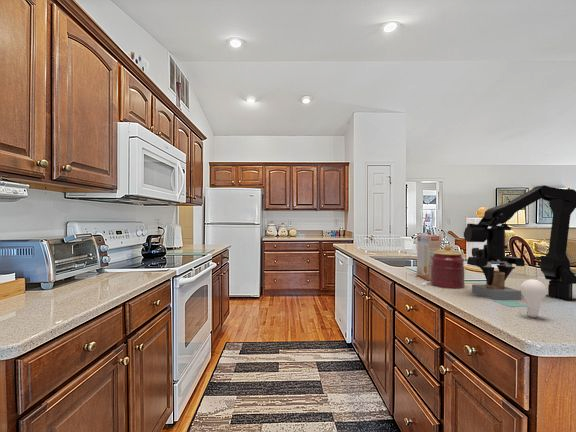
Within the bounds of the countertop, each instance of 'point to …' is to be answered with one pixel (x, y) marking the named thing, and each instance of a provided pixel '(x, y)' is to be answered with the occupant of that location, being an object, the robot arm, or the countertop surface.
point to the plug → (497, 280)
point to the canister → (447, 268)
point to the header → (496, 292)
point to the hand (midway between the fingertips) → (495, 285)
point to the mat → (511, 303)
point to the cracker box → (426, 254)
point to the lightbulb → (533, 295)
